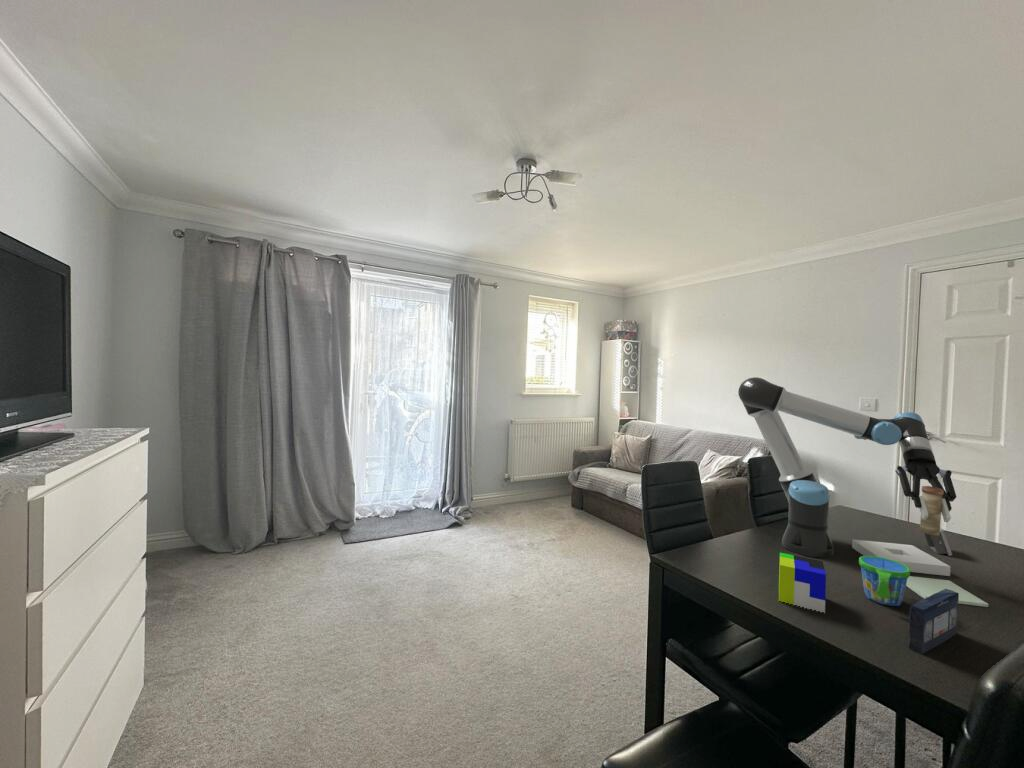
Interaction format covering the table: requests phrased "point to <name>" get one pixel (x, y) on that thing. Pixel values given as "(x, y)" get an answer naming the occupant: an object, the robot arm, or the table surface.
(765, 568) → the table surface
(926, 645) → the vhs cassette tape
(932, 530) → the plug
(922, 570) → the socket block
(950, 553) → the electrical switch
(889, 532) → the table surface
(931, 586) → the pad
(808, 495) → the robot arm
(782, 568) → the puzzle toy
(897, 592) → the snack cup
